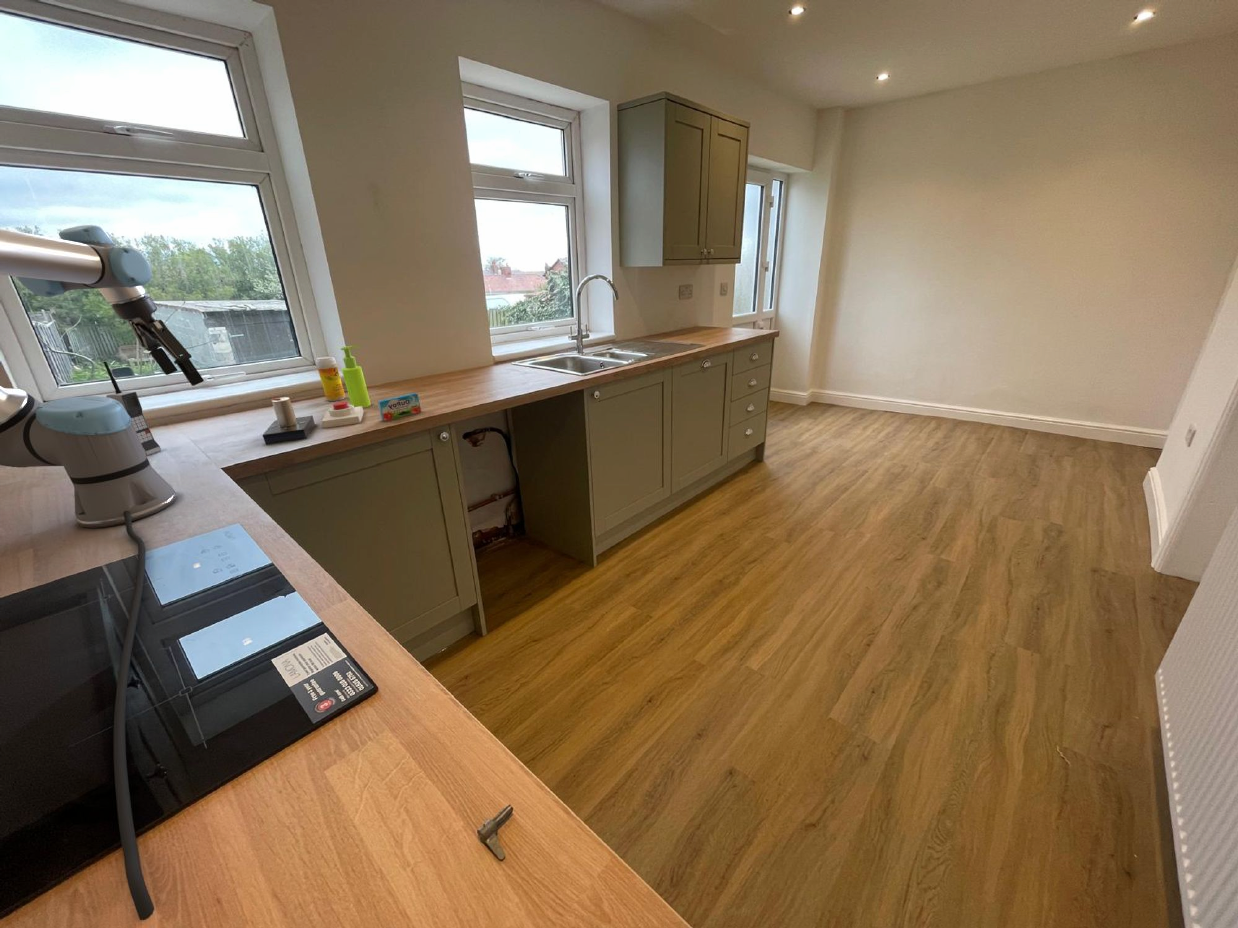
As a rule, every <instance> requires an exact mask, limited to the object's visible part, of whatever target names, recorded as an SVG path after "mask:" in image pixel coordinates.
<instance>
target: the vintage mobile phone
mask: <svg viewBox="0 0 1238 928" xmlns="http://www.w3.org/2000/svg"><path fill="white" fill-rule="evenodd" d="M102 363H103V365H104V367H105V369H106V372H107V374H108V376H109V378H110V381H111V385H112V387H113V388H114V390H115V392H113V393H109V394H106V396H105V397H108V398H112V399H115V400H117V401H119V402H120V403H121V404H122V405H123V407H124V409H125V410H126V412H127V414H128V415H129V416H130V417H131V421H132V423H133V426H134V428H135V430H136V433H137V435H138V437H139V440H140V442H141V444H142V447H143V449H144V451H145V454H146V456H150V455H153V454H156V453H158V452H161V451H162V448H161V446H160V445H159V443H158V442H157V441H156V440H155V437H154V436H153V433H152V431H151V429H150V426H149V425H148V422H147V420H146V417H145V415H144V413H143V407H142V404H141V402H140V399H139V395H138V394H137V392H136V391H129V390H128V391H122V390H121V389H120V387H119V385H118V382H117V379H115V377H114V375H113V372H112V371H111V369H110V366H109V364H108V362H107V361H103V362H102Z"/></svg>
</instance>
